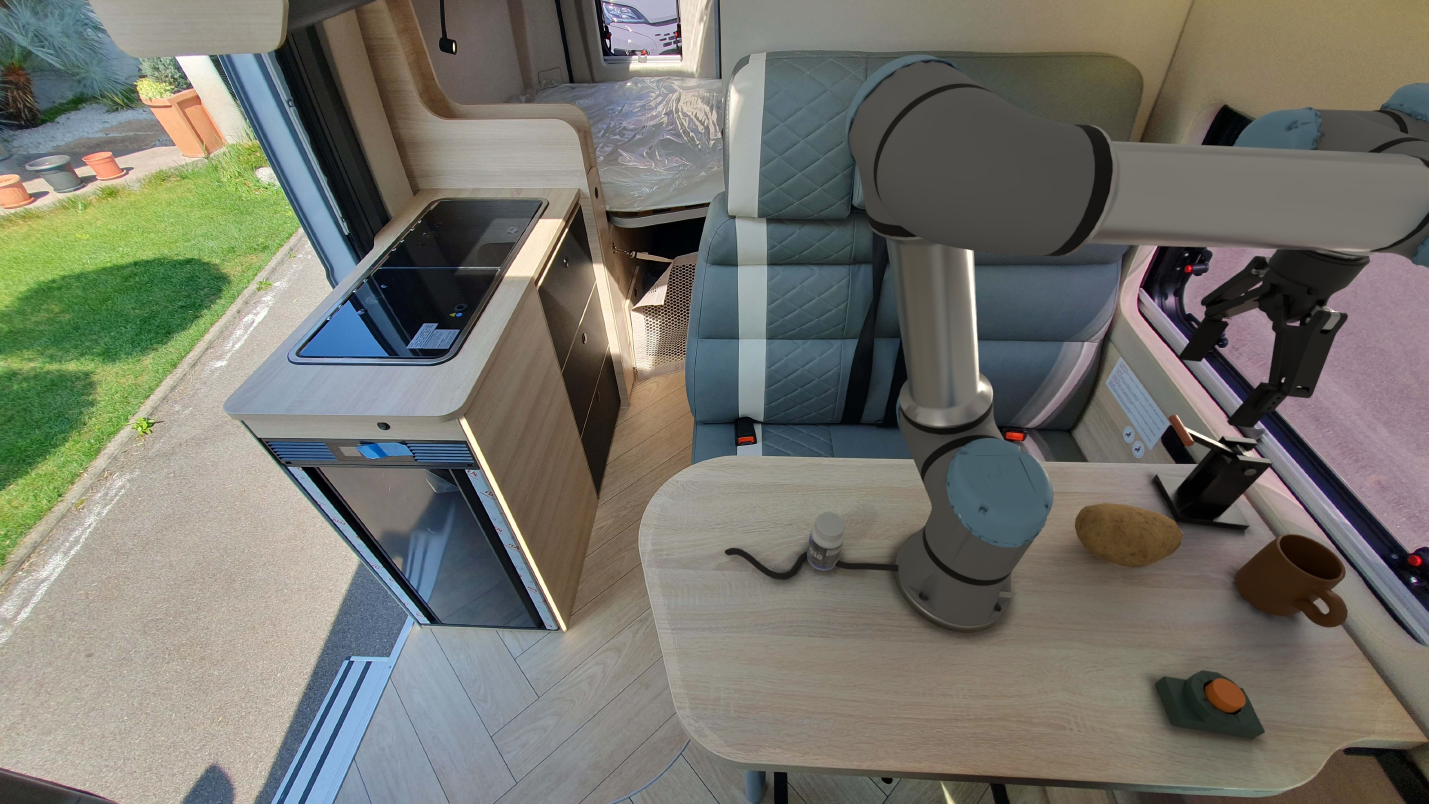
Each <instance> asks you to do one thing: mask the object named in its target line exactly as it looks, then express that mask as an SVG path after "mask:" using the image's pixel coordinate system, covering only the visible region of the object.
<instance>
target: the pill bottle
mask: <svg viewBox="0 0 1429 804" xmlns="http://www.w3.org/2000/svg"><path fill="white" fill-rule="evenodd" d="M845 528H846V524H845V521H844V519H843V518H842V517H841V516H840V515H839V514H837V513H835V512H831V511H826V512H822V513H820V514H819V515H818V516H817V517H816V520H815V522H814V523H813V525H812V526H811V529H810V533H809V538H808V542H807V547H806V551H807V559H806V560H807V562H808V563H809V564H810V566H812V567H813V569H816V570H819V571H830V570H832V569H834V568H835V567H836V566H835V564H836V563H837V561H839V559H840V555H841V552H842V549H843V545H844V543H845V537H846V534H845Z"/></svg>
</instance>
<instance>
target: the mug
mask: <svg viewBox="0 0 1429 804" xmlns="http://www.w3.org/2000/svg"><path fill="white" fill-rule="evenodd" d="M1346 572H1347V570H1346V568H1345V564H1344V563H1343V561H1342V560H1341V558H1340V557H1339V556H1338V555H1337V553H1335V552H1333V550H1331V548H1329V547H1328V546H1326V545H1324V544H1323V543H1321V542H1319V541H1318V540H1315V539H1313V538H1311V537H1309V536H1306V535H1302V534H1299V533H1283V534H1280V535H1279V536H1277V537H1275V538H1274V539H1273V540H1271V541H1270V542H1269V543H1267V544H1266V545H1265V546H1264V547H1263V548H1261V549H1260V550H1259V551H1258V552H1257V553H1256V554H1254V555H1253V556H1252V557H1251V558H1250V559H1249V560H1248V561H1247V562H1246V563H1244V565H1243V566H1241V567H1240V568H1239V569H1238V570H1237V572H1236V573H1235V575H1234V584H1235V587H1236V589H1237V590H1238V593H1239V594H1240V595H1241V596H1242V597H1243V598H1244V599H1245V600H1246V601H1247V602H1248V603H1249V604H1251V605H1252V606H1253V607H1255V608H1256V609H1258V610H1260V611H1262V612H1264V613H1266V614H1269V615H1271V616H1274V617H1282V618H1283V617H1286V618H1287V617H1291V616H1294V615H1297V614H1298V613H1300V612H1302V613H1303V614H1304V616H1305V617H1306V618H1307V619H1308V620H1310V622H1312V623H1314V624H1315V625H1317V626H1320V627H1322V628H1328V629H1329V628H1336V627H1339V626H1341V625H1343V623H1345V622H1346V620H1347V618H1348V614H1349V610H1348V607H1347V605H1346V603H1345V601H1344V599H1343V598H1342V597H1341V596H1340V595H1339V594H1337V593H1336V592H1335V591H1333V589H1335V588H1336V587H1337V586H1338V585H1339V584H1340V583H1342V581H1343V580H1344V579H1345V578H1346V576H1347V575H1346V574H1347V573H1346ZM1319 599H1321V600H1322V601H1323V602H1324V603H1325V604H1326V605H1327V606H1328V612H1327V613H1324V612H1323V611H1322V610H1321V609H1320V607H1319V606H1318V605H1317V604H1316V603H1315V602H1316V601H1317V600H1319Z"/></svg>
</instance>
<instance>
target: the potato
mask: <svg viewBox="0 0 1429 804" xmlns="http://www.w3.org/2000/svg"><path fill="white" fill-rule="evenodd" d="M1074 529H1075V532H1076V535H1077V538H1078V540H1079V542H1081V544H1082V546H1083V547H1084V548H1085V549H1086V550H1087V551H1088V552H1089V553H1091V554H1092V555H1093V556H1095V558H1098V559H1100V560H1102V561H1104V562H1106V563H1109V564H1112V565H1115V566H1120V567H1124V568H1130V569H1136V568H1142V567H1147V566H1150V565H1153V564H1155V563H1158V562H1160V561H1161V560H1163V559H1166V558H1167V557H1170V556H1172V555H1173V554H1174V553H1175V552H1176V551H1178V550H1179V549H1180V547H1181V545H1182V541H1183V538H1184V533H1183V531H1182V530H1181V528H1180V526H1179V525H1178V524H1177V522H1176V520H1175V519H1172V518H1170V517H1168V516H1166V515H1164V514H1162V513H1160V512H1158V511H1154V510H1151V509H1150V510H1149V509H1145V508H1141V507H1137V506H1133V505H1127V504H1121V503H1120V504H1119V503H1109V502H1101V503H1095V504H1090V505H1087V506H1083V508H1082V509H1080V510H1079V512H1078V514H1077V515H1076V517H1075V521H1074Z"/></svg>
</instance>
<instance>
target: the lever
mask: <svg viewBox="0 0 1429 804" xmlns="http://www.w3.org/2000/svg"><path fill="white" fill-rule="evenodd" d="M1168 421H1169V423H1170V424H1171V426H1172V427H1173V429H1174V431H1175V432H1176V434H1177V436H1178V437H1179V439H1180V441H1181V442H1182V443H1183V445H1184V446H1185V447H1193V446H1194V445H1195V443H1196V444H1198V445H1201V446H1202V447H1205V448H1207V449H1209V450H1213V451H1216V452H1218V453H1220V454H1222V456H1223V457H1224V458H1225V460H1226V461H1227V463H1228V464H1229V463H1230V462H1231V461H1232V459H1233V458H1234V457H1235V456H1236V455H1240V456H1248V457H1256V455H1254V453H1253V452H1252V450H1251V451H1250V450H1248V449H1245V448H1243V447H1241V446H1239V445H1237V444H1236V445H1234V446H1233V447H1231V448H1229V447H1227V446H1225V445H1222V444H1220V443H1218V441H1216V440H1214V439H1212V438H1210V437H1208V436H1205V435H1203V434H1201V433H1199V432H1197V431H1195V430H1193V429H1190V428H1188V427H1187V426H1185V425H1184V423H1183V421H1182V420H1181V418H1180V417H1179V416H1178V415H1177V414H1172V415H1170V416H1169V417H1168Z"/></svg>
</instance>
